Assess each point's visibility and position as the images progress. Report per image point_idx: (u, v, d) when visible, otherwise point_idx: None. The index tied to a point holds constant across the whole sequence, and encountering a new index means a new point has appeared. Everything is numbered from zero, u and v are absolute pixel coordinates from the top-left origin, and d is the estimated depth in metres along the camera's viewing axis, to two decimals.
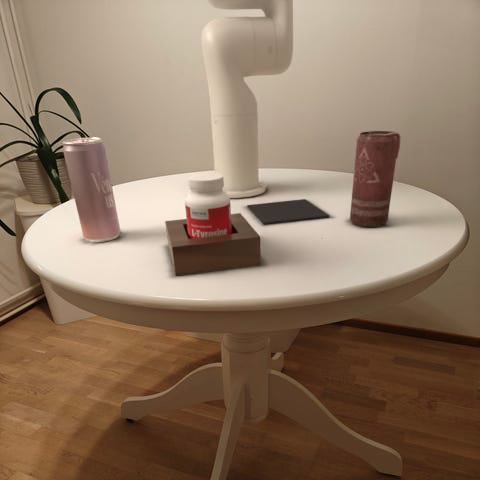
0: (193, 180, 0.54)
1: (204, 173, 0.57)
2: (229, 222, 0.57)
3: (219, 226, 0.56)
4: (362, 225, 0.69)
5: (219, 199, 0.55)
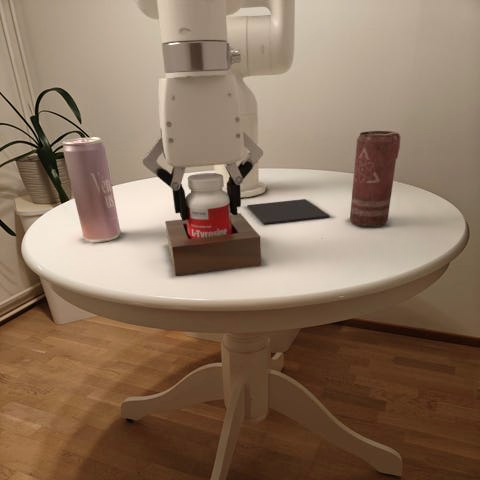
0: (193, 180, 0.54)
1: (204, 173, 0.57)
2: (229, 222, 0.57)
3: (219, 226, 0.56)
4: (362, 225, 0.69)
5: (219, 199, 0.55)
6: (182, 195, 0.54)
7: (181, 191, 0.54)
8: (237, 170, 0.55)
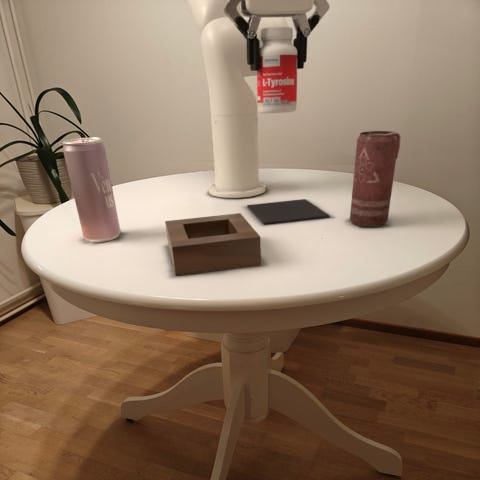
0: (267, 28, 0.60)
1: None
2: (296, 74, 0.64)
3: (288, 74, 0.62)
4: (362, 225, 0.69)
5: (289, 47, 0.61)
6: (257, 43, 0.61)
7: (256, 39, 0.60)
8: (306, 21, 0.61)
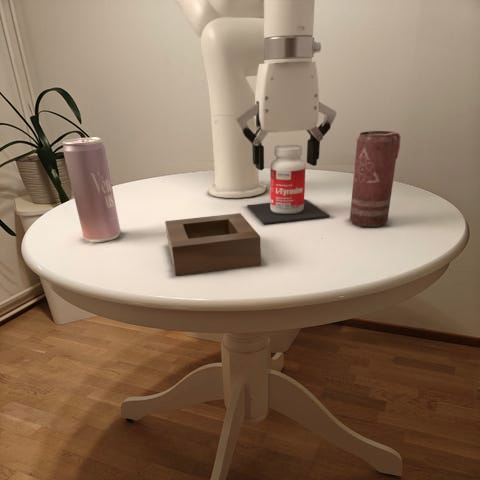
0: (280, 149, 0.71)
1: (285, 145, 0.74)
2: (304, 183, 0.74)
3: (298, 185, 0.73)
4: (362, 225, 0.69)
5: (299, 164, 0.72)
6: (262, 149, 0.71)
7: (261, 146, 0.70)
8: (317, 130, 0.71)
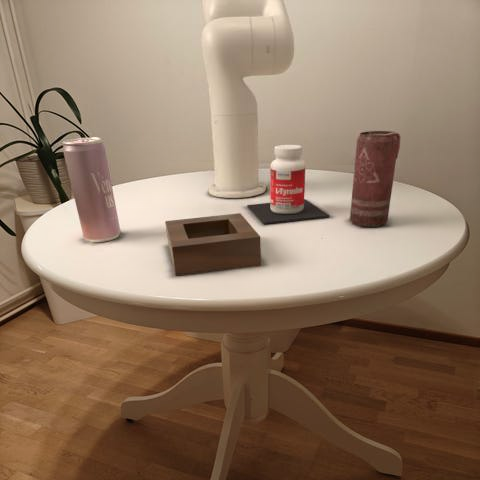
0: (280, 149, 0.71)
1: (285, 145, 0.74)
2: (304, 183, 0.74)
3: (298, 185, 0.73)
4: (362, 225, 0.69)
5: (299, 164, 0.72)
6: None
7: None
8: None
